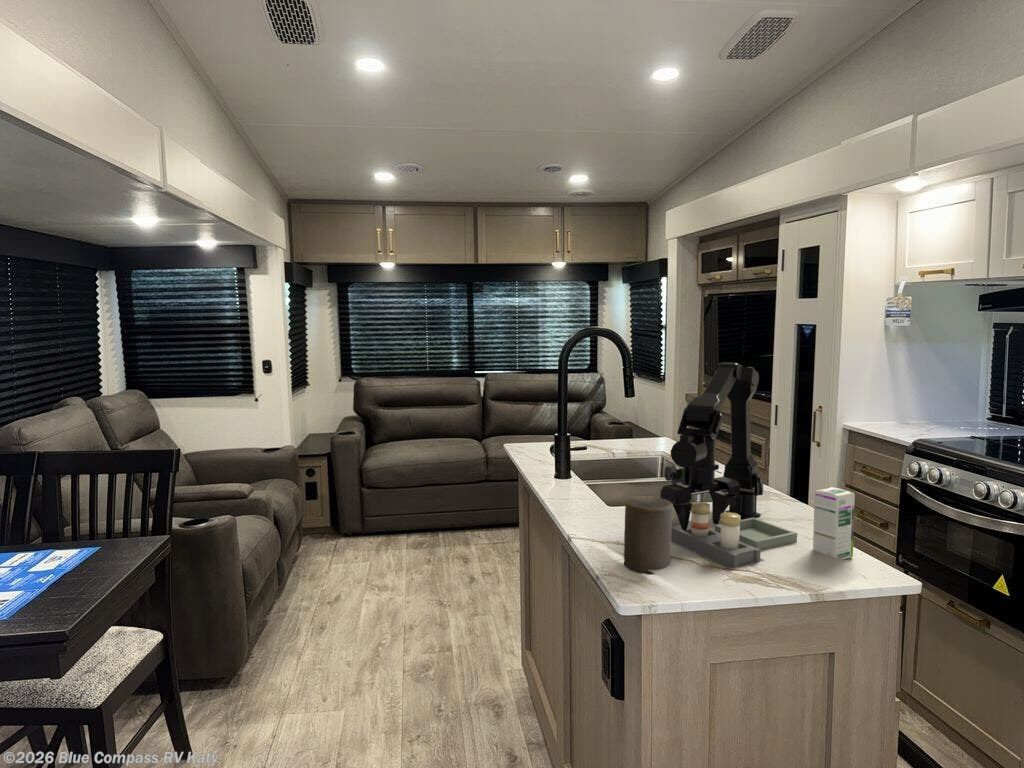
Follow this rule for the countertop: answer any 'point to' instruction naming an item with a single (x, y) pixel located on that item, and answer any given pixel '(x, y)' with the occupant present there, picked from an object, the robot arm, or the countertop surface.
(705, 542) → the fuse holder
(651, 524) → the pillar candle
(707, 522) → the cylinder
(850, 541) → the syrup box
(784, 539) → the tray
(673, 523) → the cylinder
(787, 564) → the countertop surface
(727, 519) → the cylinder
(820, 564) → the countertop surface
